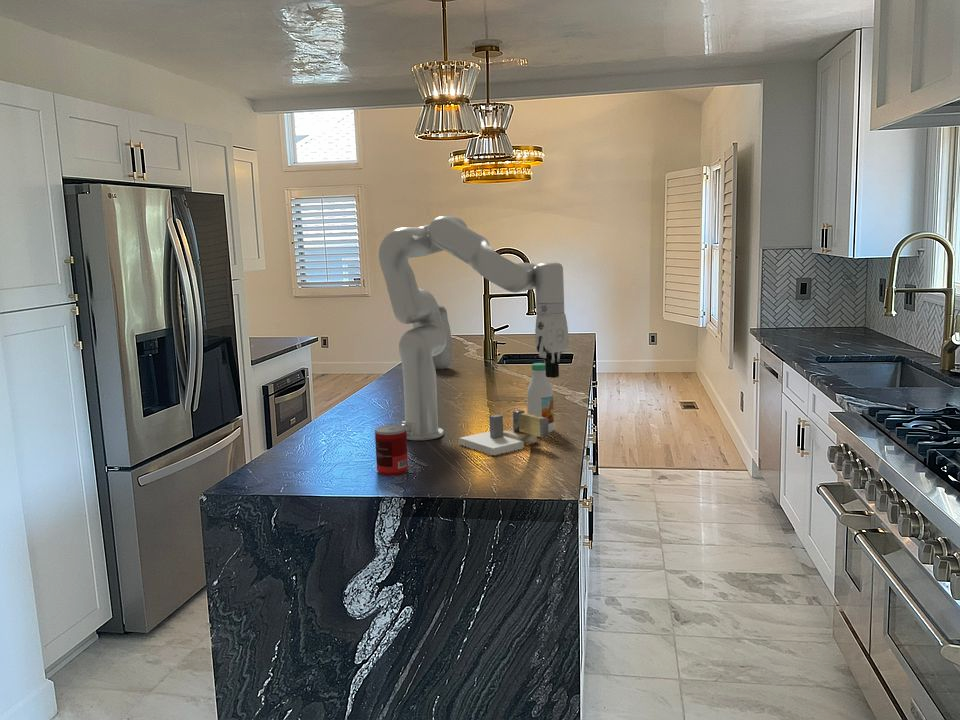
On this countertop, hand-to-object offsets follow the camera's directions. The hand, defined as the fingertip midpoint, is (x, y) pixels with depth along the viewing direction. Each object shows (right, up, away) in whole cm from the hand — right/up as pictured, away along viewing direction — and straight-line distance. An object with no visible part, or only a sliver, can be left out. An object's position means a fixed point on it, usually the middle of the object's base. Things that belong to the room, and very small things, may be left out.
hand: (552, 376), depth 214 cm
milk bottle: (-2, -16, +19) cm, 25 cm away
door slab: (-17, -19, +3) cm, 25 cm away
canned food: (-41, -23, -18) cm, 51 cm away
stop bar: (-6, -16, +3) cm, 17 cm away
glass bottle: (-37, 0, +132) cm, 137 cm away
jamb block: (-9, -18, +7) cm, 21 cm away
